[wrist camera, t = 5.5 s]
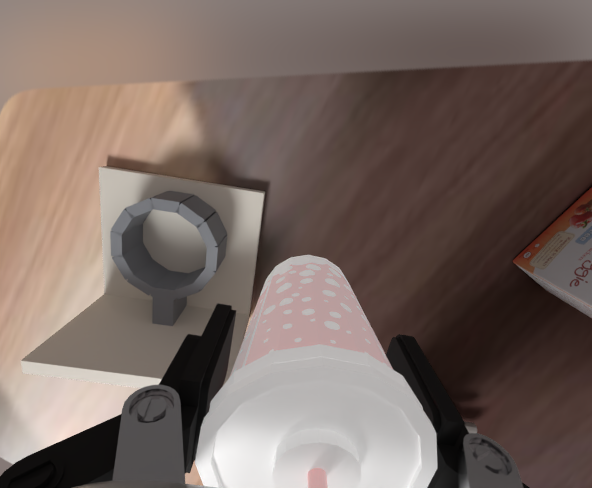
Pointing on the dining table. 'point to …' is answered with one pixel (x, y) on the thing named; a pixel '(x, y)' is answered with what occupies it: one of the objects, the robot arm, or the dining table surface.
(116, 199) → the bracket
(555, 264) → the cracker box
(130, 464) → the robot arm
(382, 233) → the dining table surface
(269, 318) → the beverage cup
